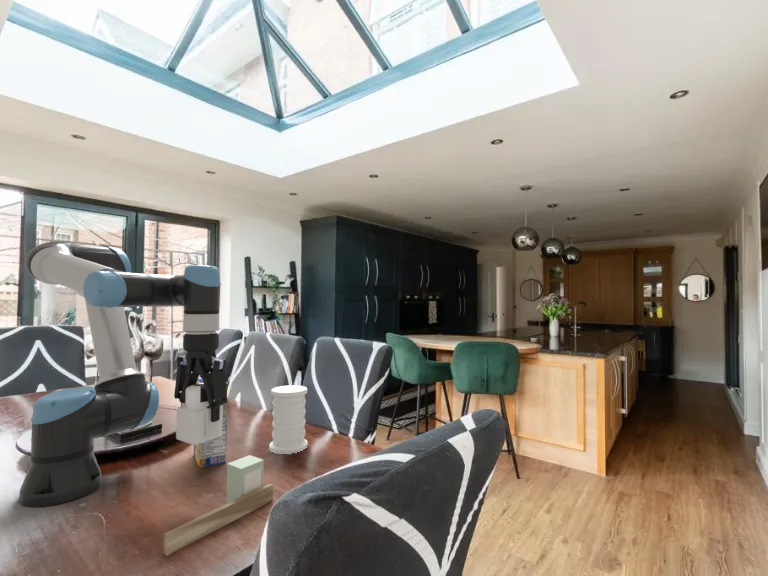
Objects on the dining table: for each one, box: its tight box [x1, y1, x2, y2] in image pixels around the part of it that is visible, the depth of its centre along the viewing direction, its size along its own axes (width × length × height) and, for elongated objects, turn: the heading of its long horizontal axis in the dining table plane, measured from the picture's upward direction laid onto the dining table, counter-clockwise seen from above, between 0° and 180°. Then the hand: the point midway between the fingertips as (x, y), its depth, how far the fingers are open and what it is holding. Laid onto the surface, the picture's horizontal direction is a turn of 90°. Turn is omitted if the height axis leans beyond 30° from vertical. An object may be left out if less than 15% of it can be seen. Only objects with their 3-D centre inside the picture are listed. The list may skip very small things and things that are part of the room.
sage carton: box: [226, 454, 265, 504], centre depth 90 cm, size 5×6×9 cm
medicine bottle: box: [175, 384, 223, 446], centre depth 92 cm, size 7×7×12 cm
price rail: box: [162, 483, 274, 557], centre depth 81 cm, size 2×24×4 cm, turn 147°
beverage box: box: [193, 378, 228, 469], centre depth 115 cm, size 7×11×22 cm, turn 32°
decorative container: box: [268, 384, 309, 455], centre depth 124 cm, size 12×12×18 cm
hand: (199, 432), depth 91 cm, fingers closed on medicine bottle, 7 cm apart
